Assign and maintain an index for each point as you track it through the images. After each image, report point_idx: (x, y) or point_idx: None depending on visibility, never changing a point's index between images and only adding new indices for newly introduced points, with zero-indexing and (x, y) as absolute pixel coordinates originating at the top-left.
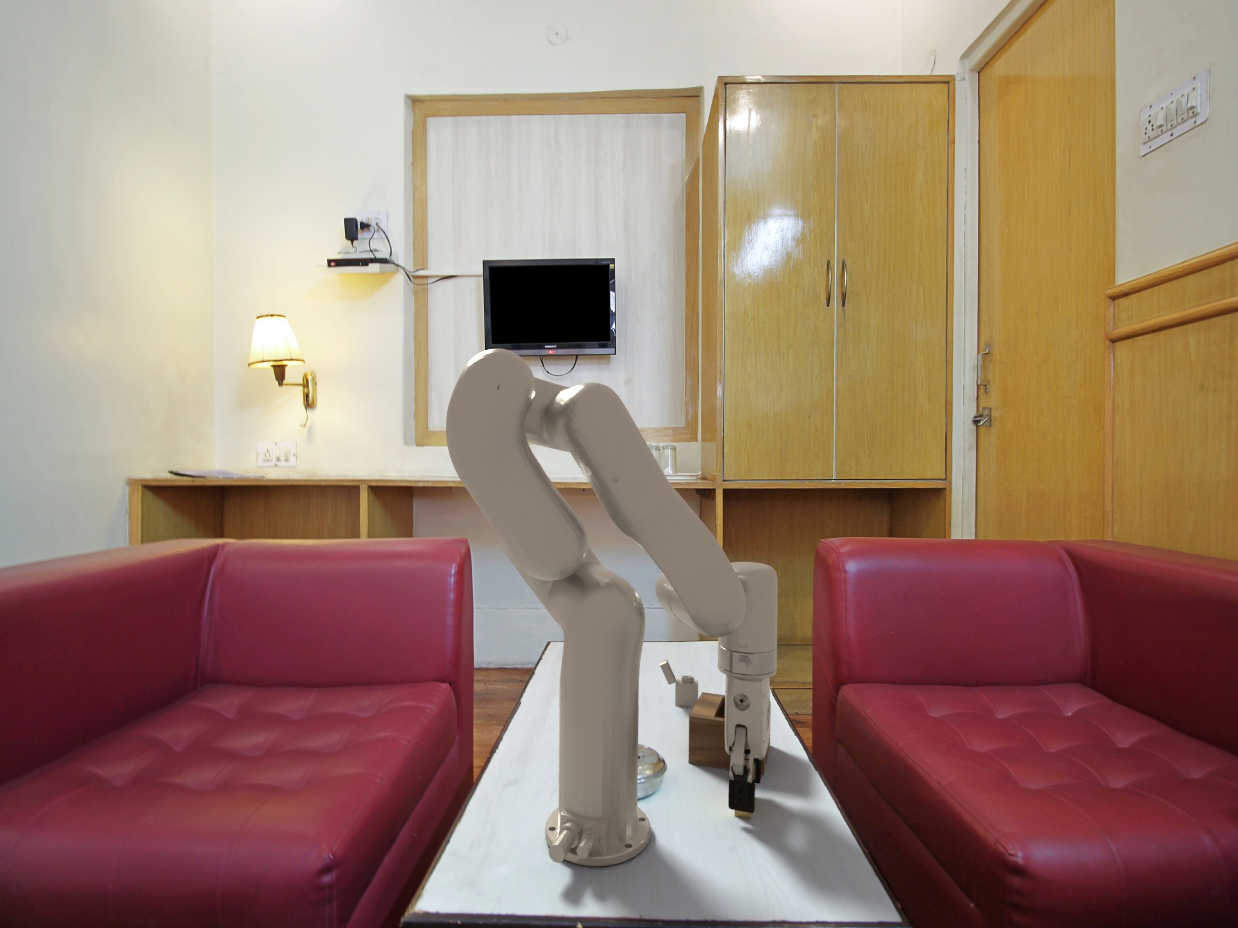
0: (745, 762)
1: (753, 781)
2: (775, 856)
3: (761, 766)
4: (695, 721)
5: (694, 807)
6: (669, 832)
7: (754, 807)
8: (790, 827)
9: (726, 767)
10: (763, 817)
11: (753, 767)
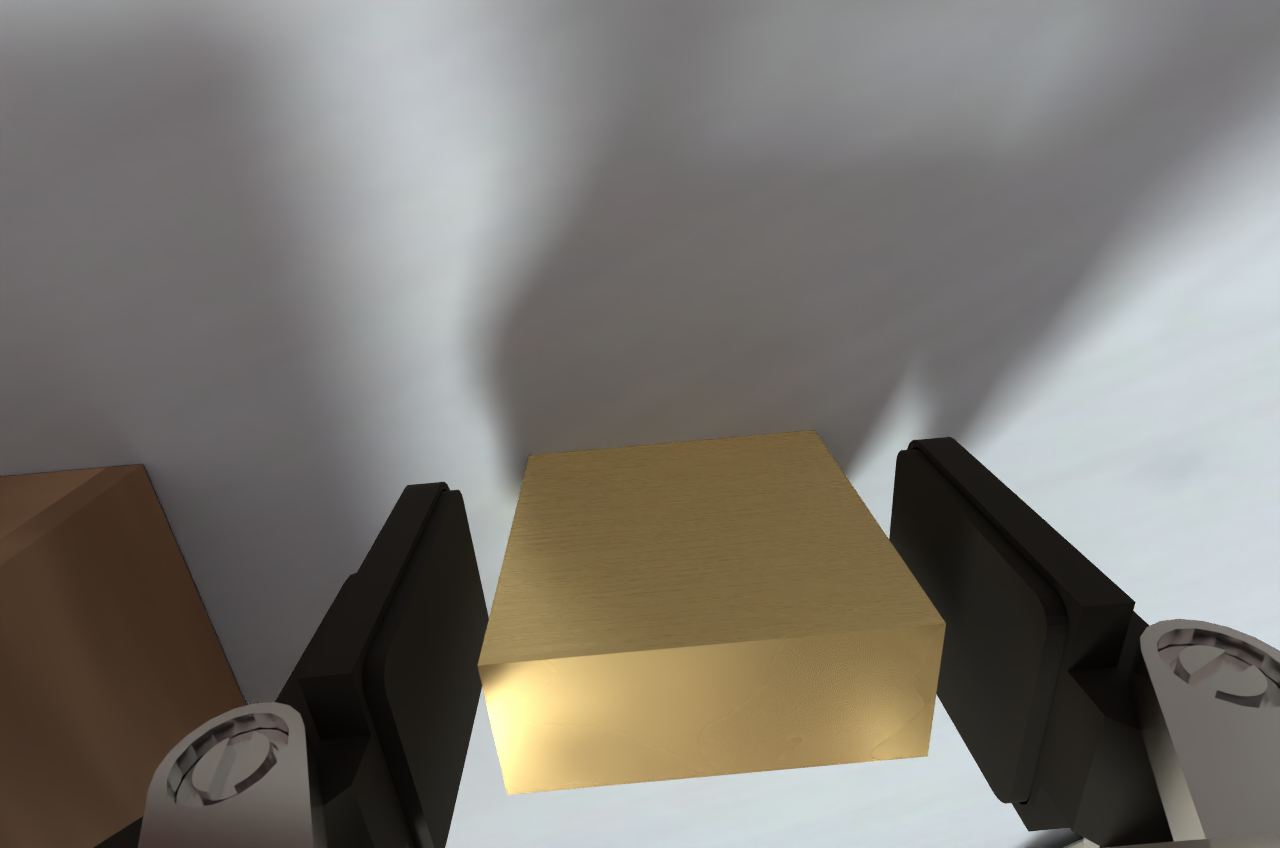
0: (553, 742)
1: (1124, 612)
2: (1240, 179)
3: (100, 520)
4: None
5: None
6: None
7: (952, 449)
8: (830, 123)
9: (235, 707)
10: (760, 351)
11: (630, 655)
